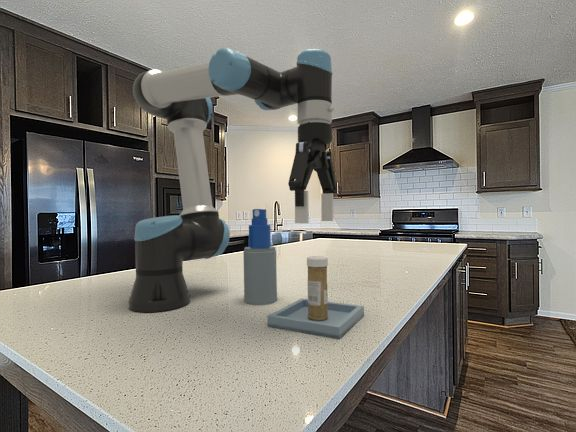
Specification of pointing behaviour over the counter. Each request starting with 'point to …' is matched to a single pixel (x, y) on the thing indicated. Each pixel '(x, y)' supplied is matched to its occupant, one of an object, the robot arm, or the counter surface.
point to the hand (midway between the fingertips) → (315, 222)
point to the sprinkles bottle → (317, 288)
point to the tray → (333, 326)
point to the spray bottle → (260, 263)
